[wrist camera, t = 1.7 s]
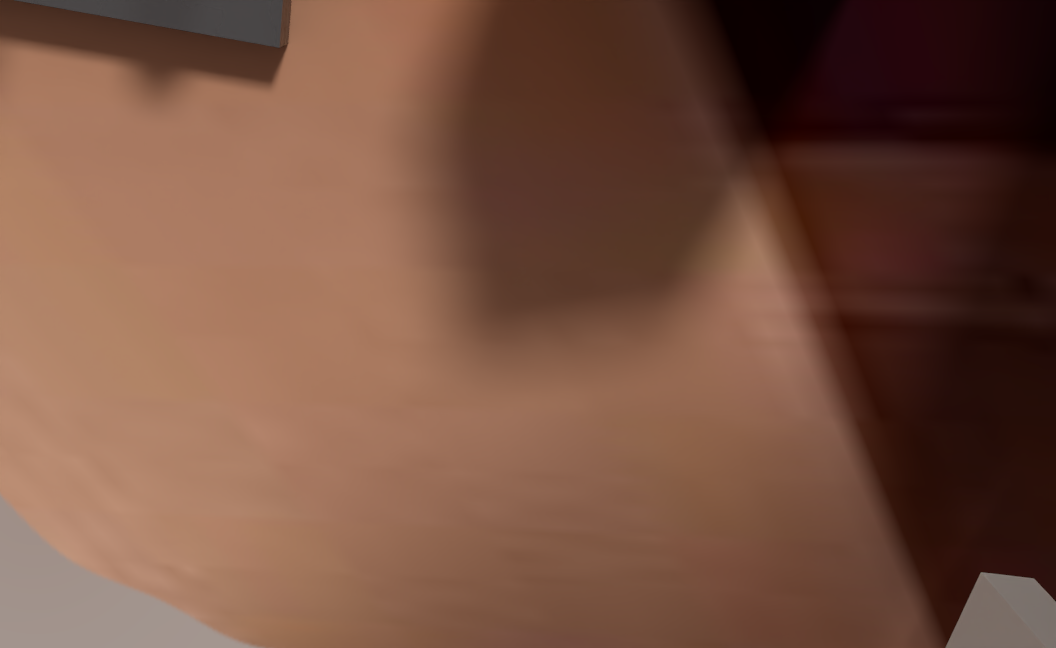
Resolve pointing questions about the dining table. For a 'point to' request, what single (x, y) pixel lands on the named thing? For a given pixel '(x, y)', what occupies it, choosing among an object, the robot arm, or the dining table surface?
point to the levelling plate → (197, 16)
